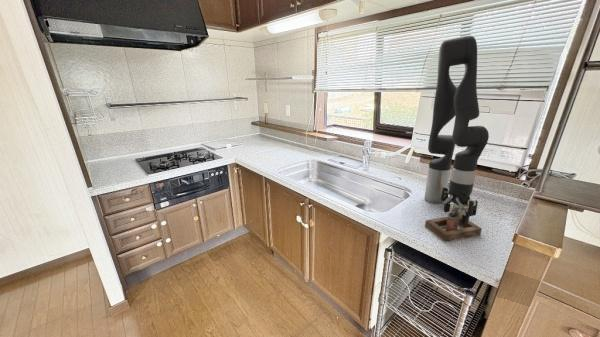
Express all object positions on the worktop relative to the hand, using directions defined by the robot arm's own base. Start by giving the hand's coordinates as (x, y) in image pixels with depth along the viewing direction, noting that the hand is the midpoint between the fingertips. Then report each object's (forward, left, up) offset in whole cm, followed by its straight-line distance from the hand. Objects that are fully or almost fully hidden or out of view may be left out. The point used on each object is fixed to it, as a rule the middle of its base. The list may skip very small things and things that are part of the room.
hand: (454, 217), depth 96 cm
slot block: (0, 0, -6) cm, 6 cm away
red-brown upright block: (0, 0, -6) cm, 6 cm away
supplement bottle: (-12, -9, -6) cm, 16 cm away
